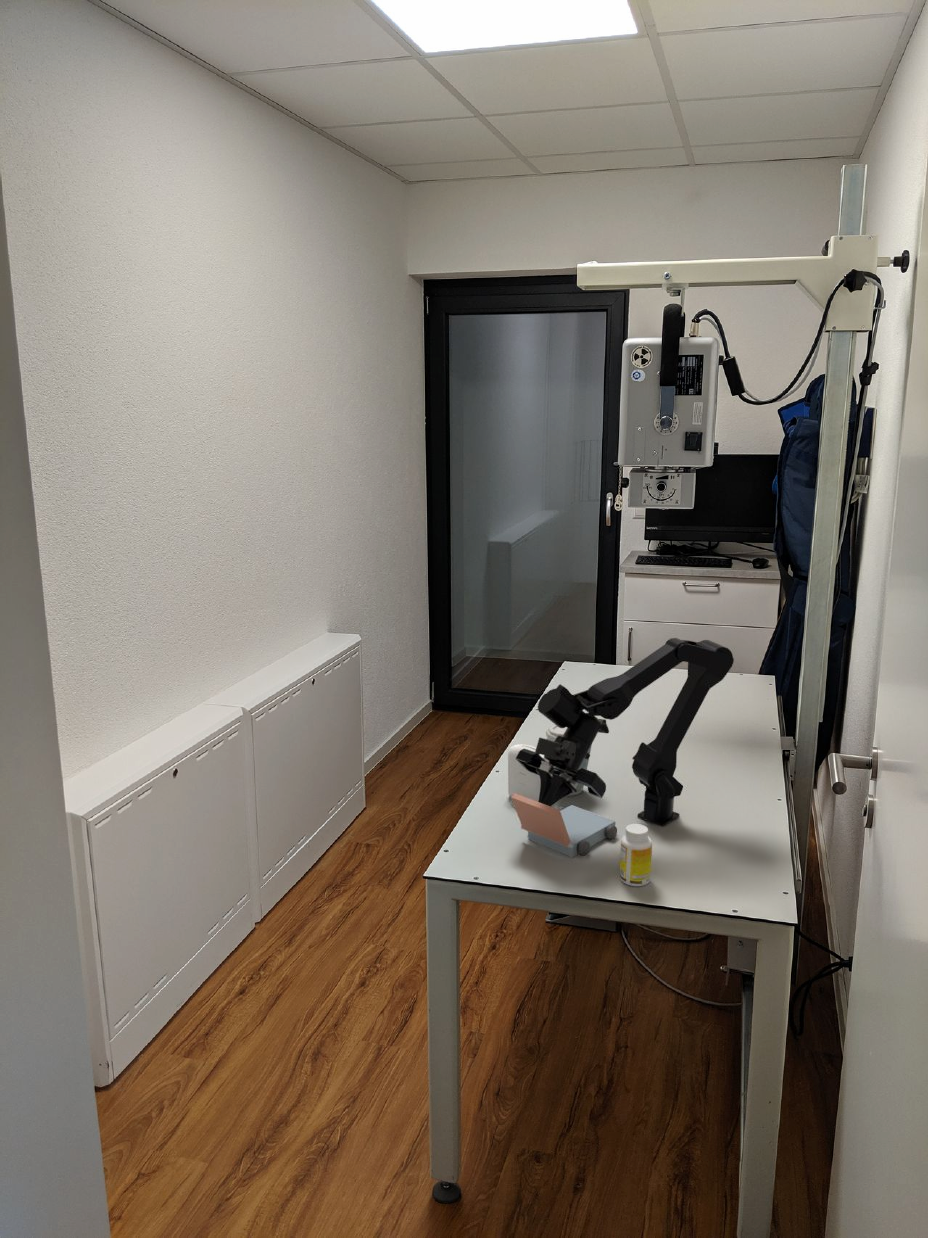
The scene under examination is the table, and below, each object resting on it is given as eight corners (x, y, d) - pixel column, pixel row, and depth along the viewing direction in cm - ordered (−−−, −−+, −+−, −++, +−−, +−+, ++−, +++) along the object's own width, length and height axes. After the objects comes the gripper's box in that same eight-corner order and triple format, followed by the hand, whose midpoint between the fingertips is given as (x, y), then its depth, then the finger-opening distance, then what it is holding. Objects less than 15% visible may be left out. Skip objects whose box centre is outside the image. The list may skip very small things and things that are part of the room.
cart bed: (566, 814, 200) (566, 802, 199) (620, 834, 191) (620, 822, 190) (523, 836, 190) (523, 824, 190) (577, 859, 181) (578, 847, 181)
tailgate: (524, 826, 189) (511, 792, 184) (574, 846, 181) (562, 811, 176) (521, 830, 188) (508, 796, 184) (571, 850, 180) (559, 815, 175)
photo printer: (504, 796, 209) (505, 743, 206) (518, 790, 212) (518, 738, 209) (540, 810, 202) (541, 756, 199) (553, 804, 205) (554, 750, 202)
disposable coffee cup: (534, 791, 211) (535, 727, 208) (562, 776, 219) (564, 714, 216) (574, 804, 205) (576, 738, 201) (602, 788, 212) (604, 725, 209)
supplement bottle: (656, 879, 174) (658, 828, 171) (639, 891, 170) (641, 838, 167) (630, 869, 178) (632, 818, 175) (613, 880, 174) (615, 829, 171)
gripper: (521, 709, 187) (483, 778, 183) (598, 733, 175) (559, 808, 170) (546, 736, 195) (510, 803, 190) (622, 761, 182) (585, 833, 177)
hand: (539, 811), depth 182 cm, fingers closed, pressing on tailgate
